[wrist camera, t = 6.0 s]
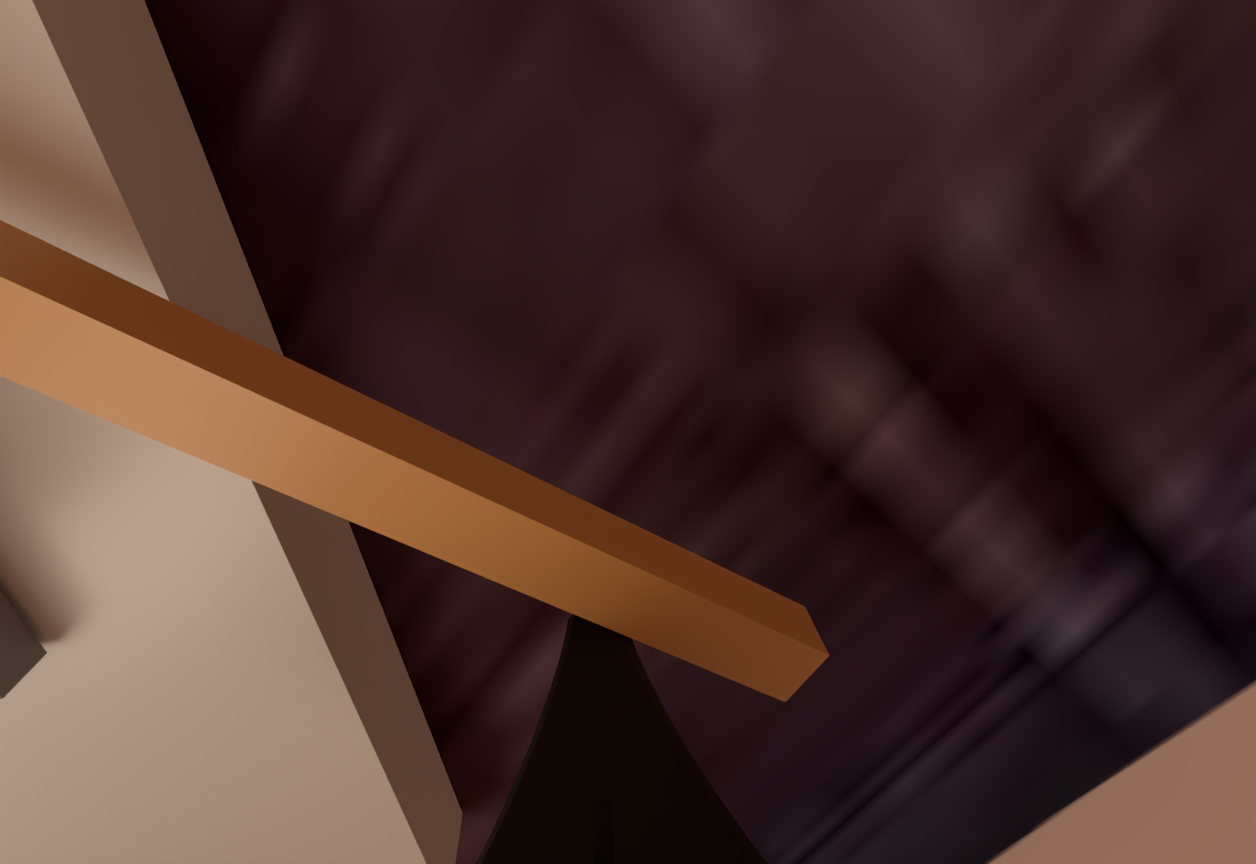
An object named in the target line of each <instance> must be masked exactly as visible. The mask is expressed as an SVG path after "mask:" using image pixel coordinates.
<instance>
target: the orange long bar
mask: <svg viewBox="0 0 1256 864" xmlns="http://www.w3.org/2000/svg"><path fill="white" fill-rule="evenodd" d="M0 376H2V377H4V378H7V379H9V380H11V381H14V382H16V383H19V384H21V385H23V386H26V387H28V388H31V389H33V390H35V391H38V392H40V393H43V394H45V395H47V396H50V397H52V398H55V399H57V400H59V401H62V402H64V403H67V404H69V405H71V406H74V407H76V408H79V409H81V410H83V411H86V412H88V413H91V414H93V415H96V416H98V417H100V418H103V419H105V420H108V421H110V422H112V423H115V424H117V425H120V426H122V427H124V428H127V429H129V430H132V431H134V432H136V433H139V434H141V435H144V436H146V437H148V438H151V439H153V440H156V441H158V442H160V443H163V444H165V445H168V446H170V447H173V448H175V449H177V450H180V451H182V452H185V453H187V454H189V455H192V456H194V457H197V458H199V459H201V460H204V461H206V462H209V463H211V464H213V465H216V466H218V467H221V468H223V469H225V470H228V471H230V472H233V473H235V474H237V475H240V476H242V477H245V478H247V479H250V480H252V481H254V482H257V483H259V484H262V485H264V486H266V487H269V488H271V489H274V490H276V491H278V492H281V493H283V494H286V495H288V496H290V497H293V498H295V499H298V500H300V501H302V502H305V503H307V504H310V505H312V506H314V507H317V508H319V509H322V510H324V511H326V512H329V513H331V514H334V515H336V516H339V517H341V518H343V519H346V520H348V521H351V522H353V523H355V524H358V525H360V526H363V527H365V528H367V529H370V530H372V531H375V532H377V533H379V534H382V535H384V536H387V537H389V538H391V539H394V540H396V541H399V542H401V543H403V544H406V545H408V546H411V547H413V548H416V549H418V550H420V551H423V552H425V553H428V554H430V555H432V556H435V557H437V558H440V559H442V560H444V561H447V562H449V563H452V564H454V565H456V566H459V567H461V568H464V569H466V570H468V571H471V572H473V573H476V574H478V575H480V576H483V577H485V578H488V579H490V580H492V581H495V582H497V583H500V584H502V585H505V586H507V587H509V588H512V589H514V590H517V591H519V592H521V593H524V594H526V595H529V596H531V597H533V598H536V599H538V600H541V601H543V602H545V603H548V604H550V605H553V606H555V607H557V608H560V609H562V610H565V611H567V612H569V613H572V614H574V615H577V616H579V617H582V618H584V619H586V620H589V621H591V622H594V623H596V624H598V625H601V626H603V627H606V628H608V629H610V630H613V631H615V632H618V633H620V634H622V635H625V636H627V637H630V638H632V639H634V640H637V641H639V642H642V643H644V644H646V645H649V646H651V647H654V648H656V649H658V650H661V651H663V652H666V653H668V654H671V655H673V656H675V657H678V658H680V659H683V660H685V661H687V662H690V663H692V664H695V665H697V666H699V667H702V668H704V669H707V670H709V671H711V672H714V673H716V674H719V675H721V676H723V677H726V678H728V679H731V680H733V681H735V682H738V683H740V684H743V685H745V686H748V687H750V688H752V689H755V690H757V691H760V692H762V693H764V694H767V695H769V696H772V697H774V698H776V699H779V700H781V701H784V702H786V701H787V700H788V699H789V698H790V697H791V696H792V695H793V694H794V692H795V691H796V690H797V689H798V688H799V687H800V686H801V685H802V684H803V683H804V682H805V681H806V680H807V679H808V678H809V677H810V676H811V675H812V673H813V672H814V671H815V670H816V669H817V668H818V667H819V666H820V665H821V664H822V663H823V662H824V661H825V660H826V659H827V658H828V657H829V654H828V652H827V650H826V648H825V646H824V644H823V642H822V640H821V638H820V636H819V634H818V632H817V630H816V628H815V626H814V624H813V622H812V620H811V618H810V616H809V614H808V612H807V610H806V608H805V606H803V605H800V604H798V603H796V602H794V601H792V600H790V599H788V598H786V597H784V596H782V595H780V594H778V593H775V592H773V591H771V590H769V589H767V588H765V587H763V586H761V585H759V584H757V583H755V582H753V581H751V580H748V579H746V578H744V577H742V576H740V575H738V574H736V573H734V572H732V571H730V570H728V569H726V568H723V567H721V566H719V565H717V564H715V563H713V562H711V561H709V560H707V559H705V558H703V557H701V556H698V555H696V554H694V553H692V552H690V551H688V550H686V549H684V548H682V547H680V546H678V545H676V544H674V543H671V542H669V541H667V540H665V539H663V538H661V537H659V536H657V535H655V534H653V533H651V532H649V531H646V530H644V529H642V528H640V527H638V526H636V525H634V524H632V523H630V522H628V521H626V520H624V519H622V518H619V517H617V516H615V515H613V514H611V513H609V512H607V511H605V510H603V509H601V508H599V507H597V506H594V505H592V504H590V503H588V502H586V501H584V500H582V499H580V498H578V497H576V496H574V495H572V494H570V493H567V492H565V491H563V490H561V489H559V488H557V487H555V486H553V485H551V484H549V483H547V482H545V481H542V480H540V479H538V478H536V477H534V476H532V475H530V474H528V473H526V472H524V471H522V470H520V469H518V468H515V467H513V466H511V465H509V464H507V463H505V462H503V461H501V460H499V459H497V458H495V457H493V456H490V455H488V454H486V453H484V452H482V451H480V450H478V449H476V448H474V447H472V446H470V445H468V444H465V443H463V442H461V441H459V440H457V439H455V438H453V437H451V436H449V435H447V434H445V433H443V432H441V431H438V430H436V429H434V428H432V427H430V426H428V425H426V424H424V423H422V422H420V421H418V420H416V419H413V418H411V417H409V416H407V415H405V414H403V413H401V412H399V411H397V410H395V409H393V408H391V407H389V406H386V405H384V404H382V403H380V402H378V401H376V400H374V399H372V398H370V397H368V396H366V395H364V394H361V393H359V392H357V391H355V390H353V389H351V388H349V387H347V386H345V385H343V384H341V383H339V382H337V381H334V380H332V379H330V378H328V377H326V376H324V375H322V374H320V373H318V372H316V371H314V370H312V369H309V368H307V367H305V366H303V365H301V364H299V363H297V362H295V361H293V360H291V359H289V358H287V357H285V356H282V355H280V354H278V353H276V352H274V351H272V350H270V349H268V348H266V347H264V346H262V345H260V344H257V343H255V342H253V341H251V340H249V339H247V338H245V337H243V336H241V335H239V334H237V333H235V332H232V331H230V330H228V329H226V328H224V327H222V326H220V325H218V324H216V323H214V322H212V321H210V320H208V319H205V318H203V317H201V316H199V315H197V314H195V313H193V312H191V311H189V310H187V309H185V308H183V307H180V306H178V305H176V304H174V303H172V302H170V301H168V300H166V299H164V298H162V297H160V296H158V295H156V294H153V293H151V292H149V291H147V290H145V289H143V288H141V287H139V286H137V285H135V284H133V283H131V282H128V281H126V280H124V279H122V278H120V277H118V276H116V275H114V274H112V273H110V272H108V271H106V270H104V269H101V268H99V267H97V266H95V265H93V264H91V263H89V262H87V261H85V260H83V259H81V258H79V257H76V256H74V255H72V254H70V253H68V252H66V251H64V250H62V249H60V248H58V247H56V246H54V245H51V244H49V243H47V242H45V241H43V240H41V239H39V238H37V237H35V236H33V235H31V234H29V233H27V232H24V231H22V230H20V229H18V228H16V227H14V226H12V225H10V224H8V223H6V222H4V221H2V220H0Z"/></svg>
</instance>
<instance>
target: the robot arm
mask: <svg viewBox="0 0 1256 864" xmlns="http://www.w3.org/2000/svg"><path fill="white" fill-rule="evenodd" d="M476 864H767V862H766V861H765V860H764V858H763V857H762V856H761V854H760V853H759V852H758V851H757V849H756V848H755V847H754V845H753V844H752V843H751V841H750V840H749V839H748V837H747V836H746V835H745V833H744V832H743V830H742V829H741V828H740V826H739V825H738V824H737V822H736V821H735V819H734V818H733V817H732V815H731V814H730V812H729V811H728V810H727V808H726V807H725V805H724V804H723V802H722V801H721V800H720V798H719V797H718V795H717V794H716V792H715V791H714V789H713V788H712V786H711V785H710V783H709V782H708V780H707V779H706V777H705V776H704V774H703V773H702V771H701V769H700V768H699V766H698V765H697V763H696V762H695V760H694V758H693V757H692V755H691V754H690V752H689V750H688V749H687V747H686V746H685V744H684V742H683V741H682V739H681V737H680V736H679V734H678V732H677V730H676V729H675V727H674V725H673V724H672V722H671V720H670V718H669V716H668V714H667V713H666V711H665V709H664V707H663V705H662V703H661V701H660V700H659V698H658V696H657V694H656V692H655V690H654V688H653V686H652V684H651V682H650V680H649V678H648V676H647V674H646V672H645V670H644V668H643V665H642V663H641V661H640V659H639V656H638V654H637V652H636V649H635V646H634V644H633V641H632V639H631V638H630V637H627V636H625V635H622V634H620V633H618V632H615V631H613V630H610V629H608V628H606V627H603V626H601V625H598V624H596V623H594V622H591V621H589V620H586V619H584V618H582V617H579V616H577V615H574V614H573V615H572V616H571V617H570V618H569V619H568V624H567V630H566V635H565V639H564V643H563V648H562V652H561V655H560V659H559V663H558V666H557V669H556V673H555V676H554V679H553V682H552V685H551V689H550V692H549V694H548V697H547V700H546V703H545V706H544V709H543V711H542V714H541V717H540V720H539V723H538V725H537V728H536V731H535V734H534V736H533V739H532V742H531V744H530V747H529V749H528V751H527V754H526V756H525V759H524V761H523V763H522V766H521V768H520V770H519V773H518V775H517V777H516V780H515V782H514V785H513V787H512V789H511V792H510V794H509V796H508V799H507V801H506V803H505V805H504V808H503V810H502V812H501V814H500V816H499V818H498V820H497V823H496V825H495V827H494V829H493V831H492V833H491V835H490V837H489V839H488V841H487V843H486V845H485V847H484V849H483V851H482V853H481V855H480V857H479V859H478V861H477V863H476Z"/></svg>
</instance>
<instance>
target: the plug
mask: <svg viewBox="0 0 1256 864" xmlns="http://www.w3.org/2000/svg"><path fill="white" fill-rule="evenodd" d="M46 654H47V652H46V651H45V649H44V648H43V647H42V645H41V644H40V643H39V641H38V640H37V639H36V637H35V636H34V634H33V633H32V632H31V630H30V629H29V628H28V626H27V625H26V624H25V622H24V621H23V620H22V618H21V617H20V616H19V614H18V613H17V611H16V610H15V609H14V607H13V606H12V605H11V603H10V602H9V601H8V599H7V598H6V597H5V595H4V594H3V593H2V591H1V590H0V699H3V698H4V697H5V696H6V695H7V694H8V693H9V692H10V691H11V690H12V689H13V688H14V687H15V686H16V685H17V684H18V683H19V682H20V681H21V679H22V678H23V677H24V676H25V675H26V674H27V673H28V672H29V671H30V670H31V669H32V668H33V667H34V666H35V665H36V664H37V663H38V662H39V661H40V660H41V659H42V658H43V657H44V656H45V655H46Z"/></svg>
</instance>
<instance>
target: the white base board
mask: <svg viewBox="0 0 1256 864" xmlns="http://www.w3.org/2000/svg"><path fill="white" fill-rule="evenodd" d="M0 220H2V221H4V222H6V223H8V224H10V225H12V226H14V227H16V228H18V229H20V230H22V231H24V232H27V233H29V234H31V235H33V236H35V237H37V238H39V239H41V240H43V241H45V242H47V243H49V244H51V245H54V246H56V247H58V248H60V249H62V250H64V251H66V252H68V253H70V254H72V255H74V256H76V257H79V258H81V259H83V260H85V261H87V262H89V263H91V264H93V265H95V266H97V267H99V268H101V269H104V270H106V271H108V272H110V273H112V274H114V275H116V276H118V277H120V278H122V279H124V280H126V281H128V282H131V283H133V284H135V285H137V286H139V287H141V288H143V289H145V290H147V291H149V292H151V293H153V294H156V295H158V296H160V297H162V298H164V299H166V300H168V301H170V302H172V303H174V304H176V305H178V306H180V307H183V308H185V309H187V310H189V311H191V312H193V313H195V314H197V315H199V316H201V317H203V318H205V319H208V320H210V321H212V322H214V323H216V324H218V325H220V326H222V327H224V328H226V329H228V330H230V331H232V332H235V333H237V334H239V335H241V336H243V337H245V338H247V339H249V340H251V341H253V342H255V343H257V344H260V345H262V346H264V347H266V348H268V349H270V350H272V351H274V352H276V353H278V354H280V355H282V356H283V353H282V351H281V348H280V345H279V343H278V340H277V338H276V335H275V333H274V330H273V328H272V325H271V322H270V320H269V317H268V315H267V312H266V310H265V307H264V305H263V302H262V299H261V297H260V294H259V292H258V289H257V287H256V284H255V282H254V279H253V276H252V274H251V271H250V269H249V266H248V264H247V261H246V259H245V256H244V253H243V251H242V248H241V246H240V243H239V241H238V238H237V236H236V233H235V230H234V228H233V225H232V223H231V220H230V218H229V215H228V213H227V210H226V207H225V205H224V202H223V200H222V197H221V195H220V192H219V190H218V187H217V184H216V182H215V179H214V177H213V174H212V172H211V169H210V167H209V164H208V161H207V159H206V156H205V154H204V151H203V149H202V146H201V143H200V141H199V138H198V136H197V133H196V131H195V128H194V126H193V123H192V120H191V118H190V115H189V113H188V110H187V108H186V105H185V103H184V100H183V97H182V95H181V92H180V90H179V87H178V85H177V82H176V80H175V77H174V74H173V72H172V69H171V67H170V64H169V62H168V59H167V57H166V54H165V51H164V49H163V46H162V44H161V41H160V39H159V36H158V34H157V31H156V28H155V26H154V23H153V21H152V18H151V16H150V13H149V11H148V8H147V5H146V3H145V0H0ZM0 590H1V591H2V593H3V594H4V595H5V597H6V598H7V599H8V601H9V602H10V603H11V605H12V606H13V607H14V609H15V610H16V611H17V613H18V614H19V616H20V617H21V618H22V620H23V621H24V622H25V624H26V625H27V626H28V628H29V629H30V630H31V632H32V633H33V634H34V636H35V637H36V639H37V640H38V641H39V643H40V644H41V645H42V647H43V648H44V649H45V651H46V652H47V654H46V655H45V656H44V657H43V658H42V659H41V660H40V661H39V662H38V663H37V664H36V665H35V666H34V667H33V668H32V669H31V670H30V671H29V672H28V673H27V674H26V675H25V676H24V677H23V678H22V679H21V681H20V682H19V683H18V684H17V685H16V686H15V687H14V688H13V689H12V690H11V691H10V692H9V693H8V694H7V695H6V696H5V697H4V698H3V699H0V864H455V863H456V856H457V849H458V842H459V835H460V828H461V821H462V814H463V813H462V811H461V808H460V806H459V803H458V801H457V798H456V795H455V793H454V790H453V788H452V785H451V783H450V780H449V778H448V775H447V772H446V770H445V767H444V765H443V762H442V760H441V757H440V755H439V752H438V749H437V747H436V744H435V742H434V739H433V737H432V734H431V732H430V729H429V726H428V724H427V721H426V719H425V716H424V714H423V711H422V709H421V706H420V703H419V701H418V698H417V696H416V693H415V691H414V688H413V685H412V683H411V680H410V678H409V675H408V673H407V670H406V668H405V665H404V662H403V660H402V657H401V655H400V652H399V650H398V647H397V645H396V642H395V639H394V637H393V634H392V632H391V629H390V627H389V624H388V622H387V619H386V616H385V614H384V611H383V609H382V606H381V604H380V601H379V599H378V596H377V593H376V591H375V588H374V586H373V583H372V581H371V578H370V576H369V573H368V570H367V568H366V565H365V563H364V560H363V558H362V555H361V553H360V550H359V547H358V545H357V542H356V540H355V537H354V535H353V532H352V530H351V527H350V524H349V522H348V520H346V519H343V518H341V517H339V516H336V515H334V514H331V513H329V512H326V511H324V510H322V509H319V508H317V507H314V506H312V505H310V504H307V503H305V502H302V501H300V500H298V499H295V498H293V497H290V496H288V495H286V494H283V493H281V492H278V491H276V490H274V489H271V488H269V487H266V486H264V485H262V484H259V483H257V482H254V481H252V480H250V479H247V478H245V477H242V476H240V475H237V474H235V473H233V472H230V471H228V470H225V469H223V468H221V467H218V466H216V465H213V464H211V463H209V462H206V461H204V460H201V459H199V458H197V457H194V456H192V455H189V454H187V453H185V452H182V451H180V450H177V449H175V448H173V447H170V446H168V445H165V444H163V443H160V442H158V441H156V440H153V439H151V438H148V437H146V436H144V435H141V434H139V433H136V432H134V431H132V430H129V429H127V428H124V427H122V426H120V425H117V424H115V423H112V422H110V421H108V420H105V419H103V418H100V417H98V416H96V415H93V414H91V413H88V412H86V411H83V410H81V409H79V408H76V407H74V406H71V405H69V404H67V403H64V402H62V401H59V400H57V399H55V398H52V397H50V396H47V395H45V394H43V393H40V392H38V391H35V390H33V389H31V388H28V387H26V386H23V385H21V384H19V383H16V382H14V381H11V380H9V379H7V378H4V377H2V376H0Z"/></svg>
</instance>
